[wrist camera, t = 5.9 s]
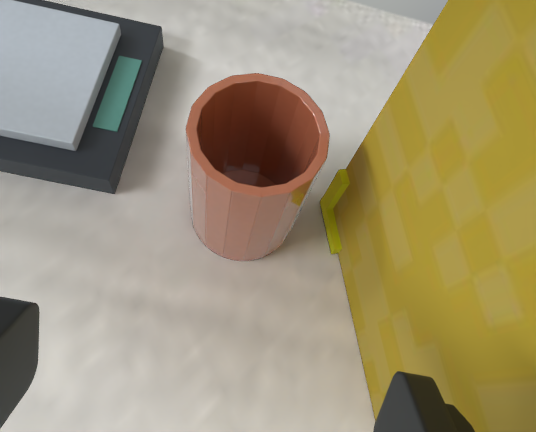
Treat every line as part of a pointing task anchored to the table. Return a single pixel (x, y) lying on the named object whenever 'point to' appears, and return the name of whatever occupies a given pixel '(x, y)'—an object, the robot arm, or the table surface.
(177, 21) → the table surface
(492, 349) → the book
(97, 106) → the scale
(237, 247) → the cup
